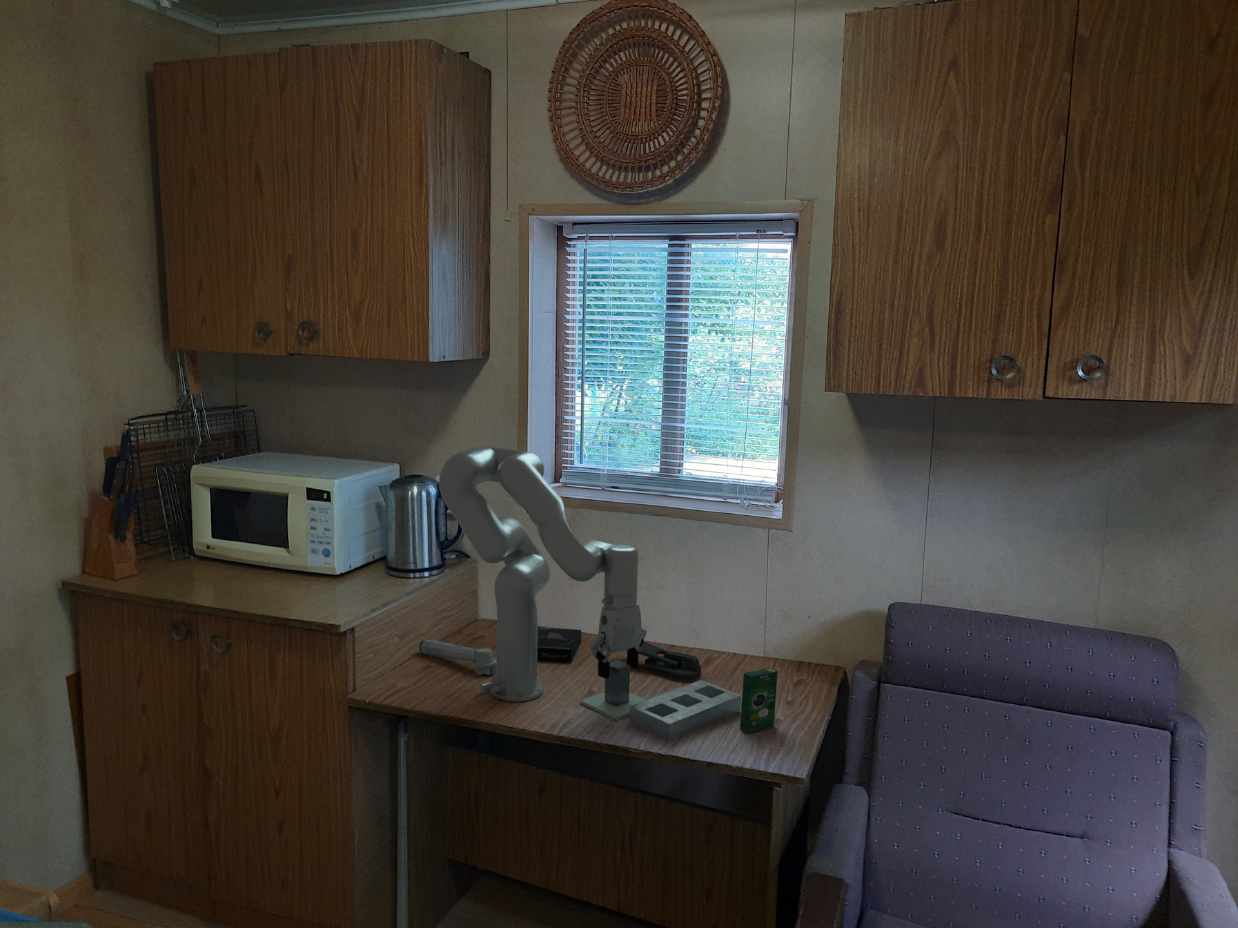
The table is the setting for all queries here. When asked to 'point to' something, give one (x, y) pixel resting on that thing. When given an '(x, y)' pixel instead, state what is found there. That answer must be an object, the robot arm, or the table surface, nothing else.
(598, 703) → the mat
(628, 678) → the square insert
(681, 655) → the zipper pull
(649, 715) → the block with square holes
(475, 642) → the table surface
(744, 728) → the coffee box
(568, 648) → the portable cd player
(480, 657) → the grey long angled piece
